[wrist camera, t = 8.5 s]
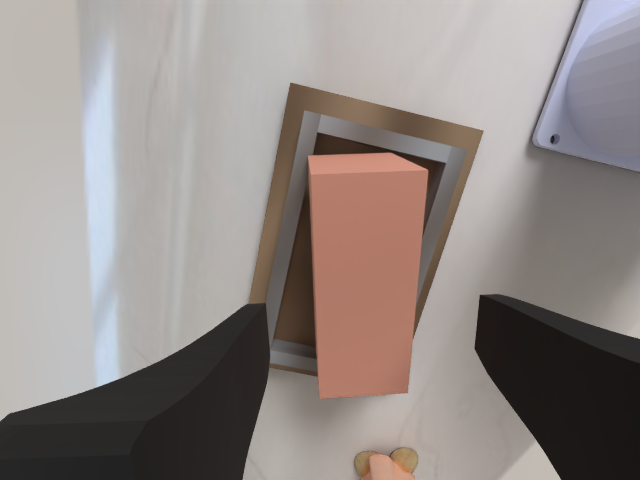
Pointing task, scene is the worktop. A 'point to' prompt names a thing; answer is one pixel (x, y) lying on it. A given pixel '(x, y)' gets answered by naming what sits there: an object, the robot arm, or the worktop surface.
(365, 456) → the grandmother figurine
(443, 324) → the worktop surface
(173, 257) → the worktop surface
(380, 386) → the block
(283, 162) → the cradle
